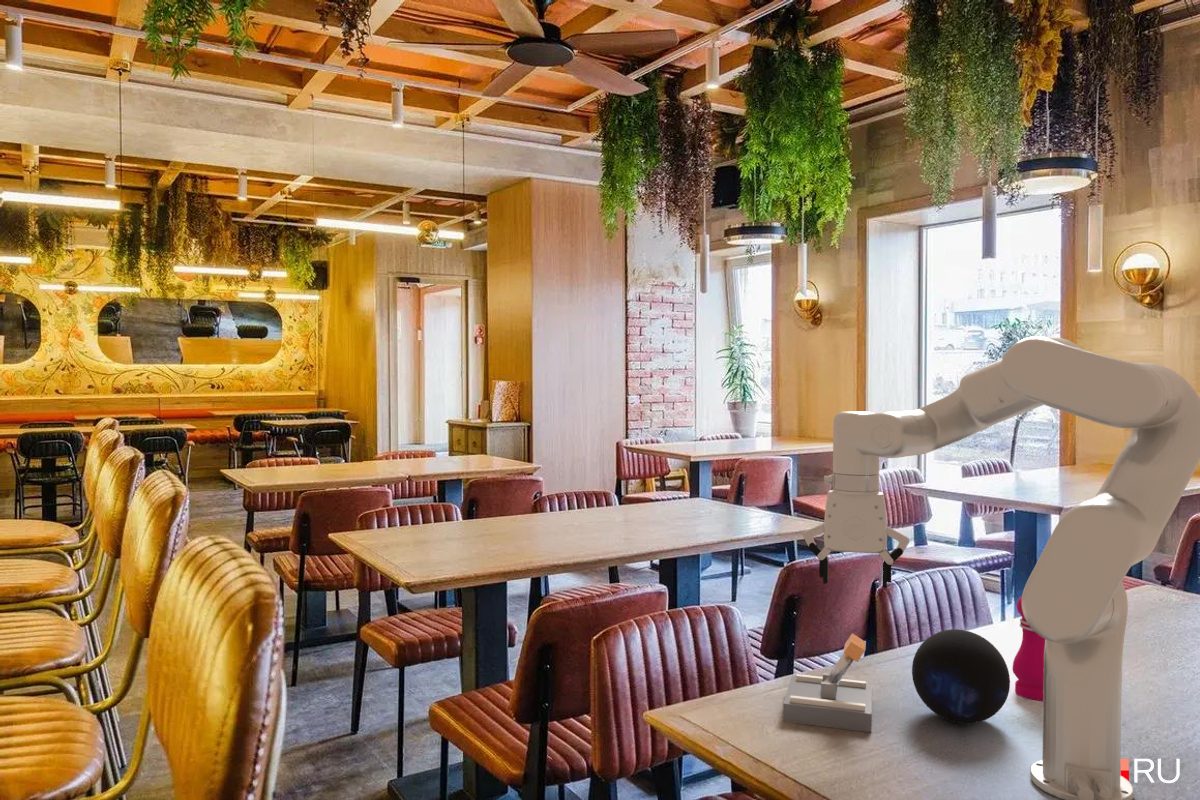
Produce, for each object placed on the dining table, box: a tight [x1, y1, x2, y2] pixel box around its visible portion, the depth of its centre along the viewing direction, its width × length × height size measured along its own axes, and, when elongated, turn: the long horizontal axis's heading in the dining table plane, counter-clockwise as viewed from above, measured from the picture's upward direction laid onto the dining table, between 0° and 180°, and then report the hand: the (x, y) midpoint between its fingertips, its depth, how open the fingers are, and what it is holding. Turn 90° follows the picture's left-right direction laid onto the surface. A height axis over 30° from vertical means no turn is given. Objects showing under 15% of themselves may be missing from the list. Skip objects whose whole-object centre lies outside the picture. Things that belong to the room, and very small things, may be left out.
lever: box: [824, 632, 866, 685], centre depth 145 cm, size 5×3×10 cm
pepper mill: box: [1012, 595, 1045, 702], centre depth 153 cm, size 7×7×20 cm
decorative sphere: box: [911, 628, 1011, 725], centre depth 142 cm, size 15×15×15 cm
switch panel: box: [782, 672, 873, 733], centre depth 146 cm, size 14×14×6 cm
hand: (854, 584), depth 144 cm, fingers open, 9 cm apart
